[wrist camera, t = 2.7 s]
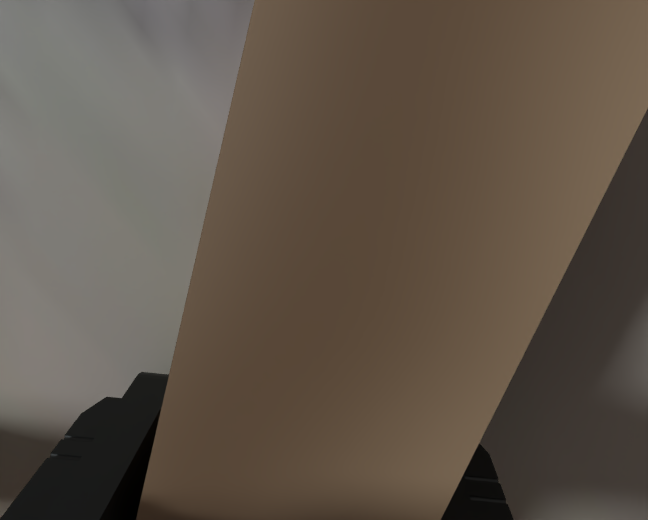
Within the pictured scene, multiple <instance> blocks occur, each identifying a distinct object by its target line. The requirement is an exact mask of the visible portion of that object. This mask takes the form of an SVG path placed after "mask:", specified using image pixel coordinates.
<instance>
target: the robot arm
mask: <svg viewBox="0 0 648 520" xmlns="http://www.w3.org/2000/svg"><path fill="white" fill-rule="evenodd" d="M168 377H169V375H167V374H157V373H147V372H141V373H139V374H138V375H137V377H136V378H135V380H134V381H133V383H132V384H131V386H130V387H129V388H128V390H127V391H126V393H125V394H124V396H123V397H122V398H113V397H106V398H104V399H103V400H101V401H100V402H98V403H97V404H95V405H94V406H92V407H91V408H89V409H88V410H86V411H85V412H83V413H81V415H80V416H79V417H78V419H77V420H76V421H75V422H74V424H73V425H72V426H71V428H70V429H69V430H68V432H67V433H66V434H65V438H64V440H63V439H61V441H60V442H59V443H58V444H57V446H56V447H55V448H54V450H53V451H52V452H51V456H50V458H47V459H46V460H45V461H44V463H43V464H42V465H41V467H40V468H39V469H38V470H37V472H36V473H35V474H34V476H33V477H32V478H31V479H30V481H29V482H28V483H27V485H26V486H25V487H24V489H23V490H22V491H21V492H20V494H19V495H18V496H17V498H16V499H15V500H14V502H13V503H12V504H11V505H10V507H9V508H8V509H7V511H6V512H5V513H4V515H3V516H2V517H1V518H0V520H136V517H137V513H138V508H139V504H140V500H141V495H142V491H143V487H144V482H145V478H146V474H147V469H148V465H149V460H150V456H151V452H152V447H153V443H154V439H155V434H156V430H157V425H158V421H159V417H160V412H161V408H162V404H163V399H164V395H165V390H166V386H167V382H168ZM441 520H513V517H512V514H511V512H510V509H509V506H508V505H507V504H506V498H505V495H504V493H503V490H502V487H501V485H500V483H498V477H497V474H496V471H495V469H494V466H493V463H492V460H491V458H490V455H489V454H488V452H487V451H486V450H485V449H484V448H483V447H482V446H481V445H480V444H478V446H477V448H476V450H475V452H474V454H473V456H472V458H471V460H470V462H469V464H468V466H467V468H466V470H465V472H464V474H463V476H462V478H461V480H460V482H459V484H458V486H457V488H456V490H455V492H454V494H453V496H452V498H451V500H450V502H449V504H448V506H447V508H446V510H445V512H444V514H443V516H442V518H441Z"/></svg>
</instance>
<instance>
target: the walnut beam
mask: <svg viewBox="0 0 648 520" xmlns="http://www.w3.org/2000/svg"><path fill="white" fill-rule="evenodd" d="M647 109H648V0H255V2H254V6H253V10H252V15H251V19H250V23H249V28H248V32H247V36H246V41H245V45H244V50H243V54H242V58H241V63H240V67H239V71H238V76H237V80H236V85H235V89H234V93H233V98H232V102H231V106H230V111H229V115H228V120H227V124H226V128H225V133H224V137H223V141H222V146H221V150H220V154H219V159H218V163H217V168H216V172H215V176H214V181H213V185H212V189H211V194H210V198H209V203H208V207H207V211H206V216H205V220H204V224H203V229H202V233H201V238H200V242H199V246H198V251H197V255H196V259H195V264H194V268H193V272H192V277H191V281H190V286H189V290H188V294H187V299H186V303H185V307H184V312H183V316H182V321H181V325H180V329H179V334H178V338H177V342H176V347H175V351H174V356H173V360H172V364H171V369H170V373H169V377H168V382H167V386H166V390H165V395H164V399H163V404H162V408H161V412H160V417H159V421H158V425H157V430H156V434H155V439H154V443H153V447H152V452H151V456H150V460H149V465H148V469H147V474H146V478H145V482H144V487H143V491H142V495H141V500H140V504H139V508H138V513H137V517H136V520H441V518H442V516H443V514H444V512H445V510H446V508H447V506H448V504H449V502H450V500H451V498H452V496H453V494H454V492H455V490H456V488H457V486H458V484H459V482H460V480H461V478H462V476H463V474H464V472H465V470H466V468H467V466H468V464H469V462H470V460H471V458H472V456H473V454H474V452H475V450H476V448H477V446H478V444H479V443H480V441H481V439H482V437H483V435H484V433H485V431H486V429H487V427H488V425H489V423H490V421H491V419H492V417H493V415H494V413H495V411H496V409H497V407H498V405H499V403H500V401H501V399H502V397H503V395H504V393H505V391H506V389H507V387H508V385H509V383H510V381H511V379H512V377H513V375H514V373H515V371H516V369H517V367H518V365H519V363H520V361H521V359H522V357H523V355H524V353H525V351H526V349H527V347H528V345H529V343H530V341H531V339H532V337H533V335H534V333H535V331H536V329H537V327H538V325H539V323H540V321H541V319H542V317H543V315H544V313H545V311H546V309H547V307H548V305H549V303H550V301H551V299H552V297H553V295H554V294H555V292H556V290H557V288H558V286H559V284H560V282H561V280H562V278H563V276H564V274H565V272H566V270H567V268H568V266H569V264H570V262H571V260H572V258H573V256H574V254H575V252H576V250H577V248H578V246H579V244H580V242H581V240H582V238H583V236H584V234H585V232H586V230H587V228H588V226H589V224H590V222H591V220H592V218H593V216H594V214H595V212H596V210H597V208H598V206H599V204H600V202H601V200H602V198H603V196H604V194H605V192H606V190H607V188H608V186H609V184H610V182H611V180H612V178H613V176H614V174H615V172H616V170H617V168H618V166H619V164H620V162H621V160H622V158H623V156H624V154H625V152H626V150H627V148H628V146H629V144H630V143H631V141H632V139H633V137H634V135H635V133H636V131H637V129H638V127H639V125H640V123H641V121H642V119H643V117H644V115H645V113H646V111H647Z"/></svg>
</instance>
